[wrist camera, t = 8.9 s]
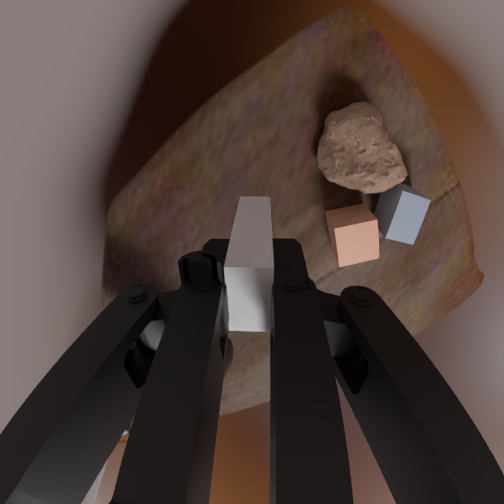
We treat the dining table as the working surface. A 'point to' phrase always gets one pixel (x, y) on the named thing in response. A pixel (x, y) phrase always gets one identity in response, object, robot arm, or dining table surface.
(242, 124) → the dining table surface
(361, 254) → the terracotta block
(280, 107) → the dining table surface
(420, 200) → the slate block
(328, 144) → the stone
